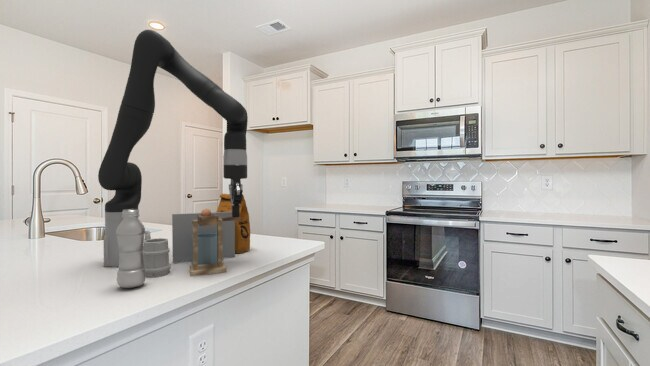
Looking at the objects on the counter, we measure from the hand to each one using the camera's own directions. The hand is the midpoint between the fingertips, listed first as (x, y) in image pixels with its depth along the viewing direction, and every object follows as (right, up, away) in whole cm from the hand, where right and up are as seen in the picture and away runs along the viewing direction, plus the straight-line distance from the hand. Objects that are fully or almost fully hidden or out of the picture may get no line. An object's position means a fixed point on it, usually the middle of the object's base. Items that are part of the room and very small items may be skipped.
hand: (235, 217), depth 105 cm
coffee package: (-6, -15, +19) cm, 25 cm away
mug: (-22, -16, -9) cm, 29 cm away
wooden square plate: (-3, -1, -6) cm, 7 cm away
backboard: (-12, -15, +6) cm, 20 cm away
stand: (-6, -16, -8) cm, 18 cm away
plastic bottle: (-21, -16, -22) cm, 34 cm away
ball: (-9, +1, -3) cm, 9 cm away
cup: (-10, -15, +1) cm, 18 cm away
